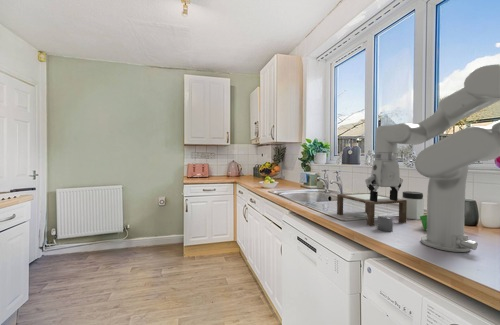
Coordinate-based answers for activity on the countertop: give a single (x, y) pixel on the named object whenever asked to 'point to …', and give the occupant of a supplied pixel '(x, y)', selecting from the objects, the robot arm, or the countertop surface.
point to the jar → (414, 204)
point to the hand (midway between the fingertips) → (383, 200)
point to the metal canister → (385, 223)
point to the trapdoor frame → (372, 207)
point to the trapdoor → (368, 197)
